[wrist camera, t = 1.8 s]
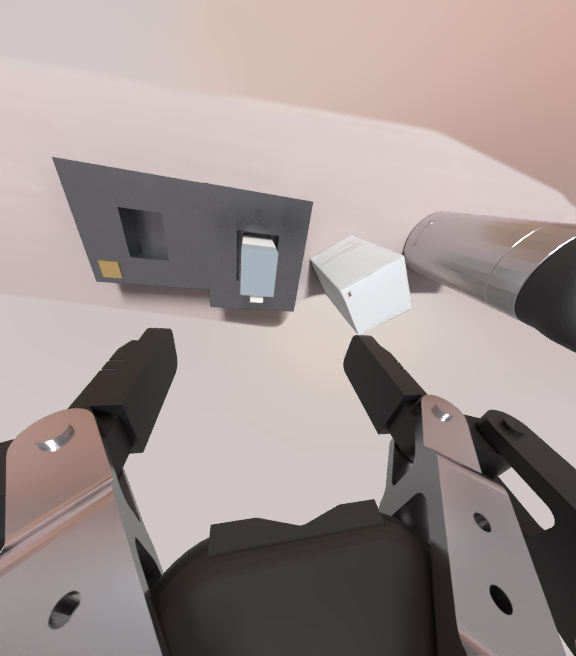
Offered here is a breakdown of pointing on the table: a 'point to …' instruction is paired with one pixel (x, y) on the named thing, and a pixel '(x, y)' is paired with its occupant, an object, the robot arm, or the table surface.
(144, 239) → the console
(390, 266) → the supplement box
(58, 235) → the table surface
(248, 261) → the plug
